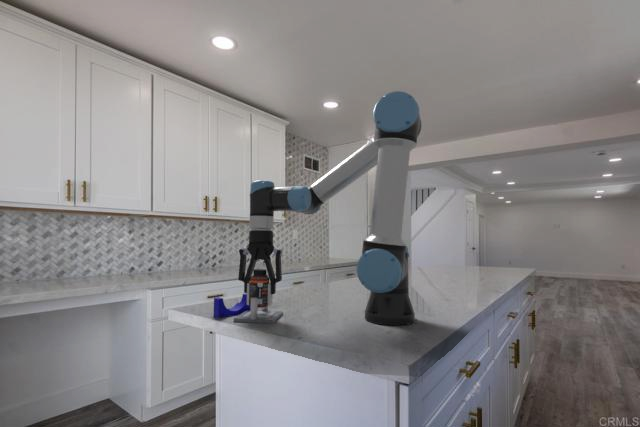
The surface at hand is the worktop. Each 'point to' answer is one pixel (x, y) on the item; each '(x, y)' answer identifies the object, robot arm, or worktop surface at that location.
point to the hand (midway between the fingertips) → (259, 304)
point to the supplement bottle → (259, 287)
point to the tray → (258, 314)
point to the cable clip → (236, 310)
